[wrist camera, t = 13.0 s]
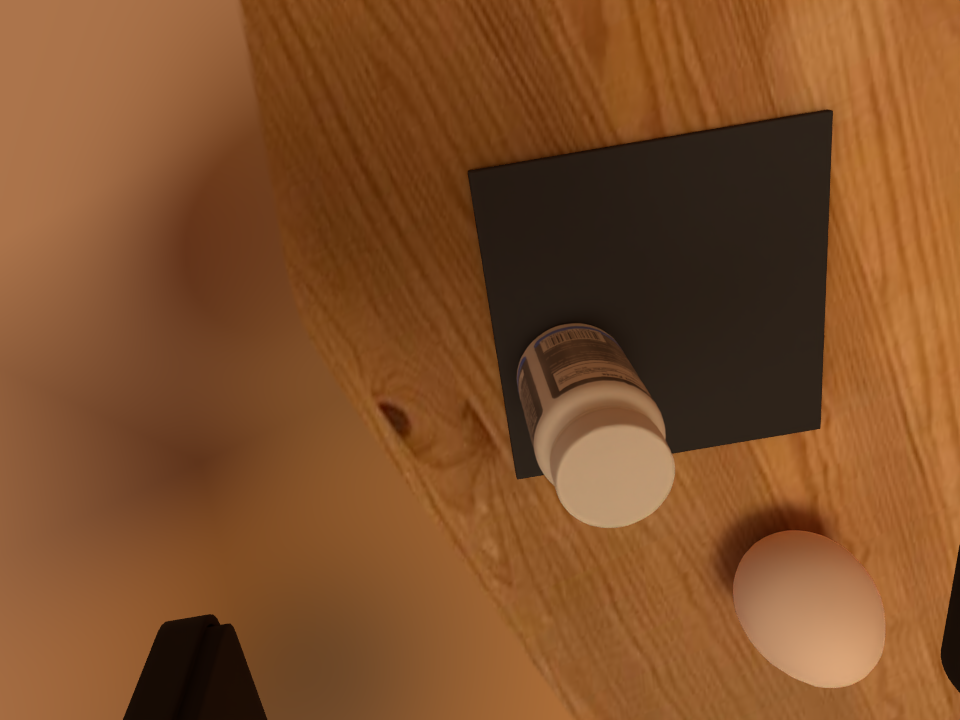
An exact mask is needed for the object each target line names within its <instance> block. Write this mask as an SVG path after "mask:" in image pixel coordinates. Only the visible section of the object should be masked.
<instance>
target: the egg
mask: <svg viewBox="0 0 960 720" xmlns="http://www.w3.org/2000/svg"><path fill="white" fill-rule="evenodd" d="M733 600H734V606H735V611H736V614H737V616H738V619H739V621H740V624H741V626H742V628H743V629H744V631H745V633H746V635H747V636H748V638H749V640H750V641H751V643H752V644H753V645H754V646H755V647H756V649H757V650H758V651H759V652H760V653H761V654H762V656H763V657H765V658H766V659H767V660H768V661H769V662H770V663H771V664H773V665H774V666H776V667H777V668H779V669H780V670H782V671H783V672H785V673H786V674H788V675H790V676H791V677H793V678H795V679H797V680H800V681H803V682H805V683H808V684H810V685H813V686H816V687H824V688H840V687H844V686H849V685H852V684H854V683H856V682H858V681H860V680H862V679H863V678H865V677H866V676H867V675H868V674H869V673H870V672H871V670H872V669H873V668H874V667H875V666H876V665H877V663H878V661H879V659H880V657H881V656H882V652H883V648H884V642H885V616H884V608H883V604H882V600H881V596H880V594H879V592H878V590H877V588H876V586H875V584H874V581H873V579H872V578H871V576H870V575H869V574H868V572H867V571H866V569H865V568H864V566H863V565H862V564H861V563H860V562H859V561H858V560H857V559H856V558H855V557H854V556H853V555H852V554H851V553H850V552H849V551H848V550H847V549H846V548H845V547H843V546H842V545H840V544H838V543H837V542H835V541H833V540H831V539H829V538H827V537H825V536H823V535H820V534H816V533H812V532H808V531H801V530H786V531H782V532H777V533H773V534H771V535H768V536H766V537H764V538H762V539H761V540H759V541H758V542H756V543H755V544H753V545H752V547H751V548H750V549H749V550H748V551H747V552H746V553H745V554H744V556H743V557H742V559H741V561H740V563H739V565H738V568H737V571H736V574H735V578H734V581H733Z"/></svg>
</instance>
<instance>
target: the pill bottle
mask: <svg viewBox="0 0 960 720" xmlns="http://www.w3.org/2000/svg"><path fill="white" fill-rule="evenodd" d="M517 386H518V392H519V396H520V400H521V403H522V407H523V411H524V415H525V419H526V423H527V427H528V430H529V434H530V438H531V442H532V445H533V449H534V453H535V456H536V459H537V462H538V465H539V467H540V469H541V470H542V472H543V474H544V475H545V476H546V478H547V479H548V480H549V481H550V482H551V483H552V484H553V485H554V486H555V489H556V492H557V495H558V497H559V499H560V501H561V503H562V504H563V506H564V507H565V509H566V510H567V511H568V512H569V513H570V514H571V515H572V516H574V517H575V518H577V519H578V520H580V521H582V522H584V523H586V524H589V525H592V526H596V527H602V528H617V527H623V526H627V525H630V524H633V523H636V522H638V521H640V520H642V519H644V518H645V517H647V516H649V515H650V514H652V513H653V512H654V511H655V510H656V509H657V508H659V507H660V505H661V504H662V503H663V502H664V500H665V499H666V498H667V496H668V494H669V492H670V490H671V488H672V485H673V481H674V476H675V464H674V459H673V456H672V453H671V450H670V448H669V447H668V445H667V443H666V441H665V438H666V434H665V425H664V421H663V418H662V415H661V412H660V410H659V408H658V406H657V404H656V403H655V401H654V400H653V399H652V397H651V395H650V394H649V392H648V391H647V389H646V387H645V386H644V384H643V383H642V381H641V380H640V378H639V377H638V375H637V373H636V371H635V369H634V368H633V366H632V365H631V363H630V362H629V360H628V359H627V357H626V355H625V354H624V352H623V350H622V349H621V347H620V346H619V344H618V343H617V342H616V341H615V340H614V338H612V337H611V336H610V335H609V334H607V333H606V332H605V331H603V330H601V329H599V328H597V327H594V326H591V325H587V324H582V323H572V324H564V325H560V326H556V327H553V328H551V329H549V330H547V331H546V332H544V333H542V334H541V335H540V336H538V337H537V338H536V339H535V340H534V341H533V342H532V343H531V344H530V345H529V346H528V347H527V349H526V350H525V352H524V354H523V355H522V357H521V359H520V362H519V365H518V370H517Z"/></svg>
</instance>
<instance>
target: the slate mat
mask: <svg viewBox="0 0 960 720" xmlns="http://www.w3.org/2000/svg"><path fill="white" fill-rule="evenodd" d="M832 120H833V111H831V110H823V111H817V112H811V113H805V114H799V115H793V116H787V117H782V118H776V119H770V120H764V121H758V122H752V123H746V124H740V125H734V126H729V127H723V128H717V129H711V130H705V131H699V132H693V133H687V134H681V135H676V136H670V137H664V138H658V139H652V140H646V141H640V142H634V143H628V144H623V145H617V146H611V147H605V148H599V149H593V150H587V151H581V152H575V153H569V154H564V155H558V156H552V157H546V158H540V159H534V160H528V161H522V162H516V163H511V164H505V165H499V166H493V167H487V168H481V169H475V170H469V171H468V177H469V183H470V189H471V196H472V202H473V208H474V214H475V221H476V227H477V233H478V239H479V246H480V252H481V258H482V264H483V271H484V277H485V283H486V289H487V296H488V302H489V308H490V314H491V321H492V327H493V333H494V339H495V346H496V352H497V358H498V364H499V371H500V377H501V383H502V389H503V396H504V402H505V408H506V414H507V421H508V427H509V433H510V439H511V446H512V452H513V458H514V464H515V471H516V477H517V479H523V478H529V477H535V476H541V475H544V474H543V472H542V470H541V469H540V467H539V465H538V462H537V459H536V456H535V453H534V449H533V445H532V442H531V438H530V434H529V430H528V427H527V423H526V419H525V415H524V411H523V407H522V403H521V400H520V396H519V392H518V386H517V370H518V365H519V362H520V359H521V357H522V355H523V354H524V352H525V350H526V349H527V347H528V346H529V345H530V344H531V343H532V342H533V341H534V340H535V339H536V338H537V337H538V336H540V335H541V334H542V333H544V332H546V331H547V330H549V329H551V328H553V327H556V326H560V325H564V324H572V323H582V324H587V325H591V326H594V327H597V328H599V329H601V330H603V331H605V332H606V333H607V334H609V335H610V336H611V337H612V338H614V340H615V341H616V342H617V343H618V344H619V346H620V347H621V349H622V350H623V352H624V354H625V355H626V357H627V359H628V360H629V362H630V363H631V365H632V366H633V368H634V369H635V371H636V373H637V375H638V377H639V378H640V380H641V381H642V383H643V384H644V386H645V387H646V389H647V391H648V392H649V394H650V395H651V397H652V399H653V400H654V401H655V403H656V404H657V406H658V408H659V410H660V412H661V415H662V418H663V421H664V425H665V434H666V438H665V441H666V443H667V445H668V447H669V448H670V450H671V453H678V452H684V451H690V450H696V449H702V448H708V447H714V446H720V445H726V444H732V443H738V442H744V441H750V440H756V439H762V438H768V437H774V436H780V435H786V434H791V433H797V432H803V431H809V430H815V429H820V424H821V399H822V373H823V348H824V323H825V297H826V272H827V247H828V221H829V196H830V171H831V145H832Z"/></svg>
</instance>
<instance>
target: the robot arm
mask: <svg viewBox="0 0 960 720" xmlns="http://www.w3.org/2000/svg"><path fill="white" fill-rule="evenodd" d="M941 660H942V664H943V667H944V670H945V672H946V674H947V676H948V678H949V680H950V681H951V682H952V684H953V685H954V686H955V688H956V689H957V690H958V691H959V692H960V546H959V552H958V557H957V563H956V568H955V574H954V580H953V585H952V591H951V597H950V602H949V608H948V614H947V619H946V625H945V630H944V636H943V642H942V647H941ZM123 720H267V717H266V715H265V712H264V709H263V706H262V703H261V701H260V698H259V695H258V693H257V690H256V687H255V684H254V681H253V679H252V676H251V673H250V670H249V668H248V665H247V662H246V659H245V657H244V654H243V651H242V648H241V645H240V643H239V640H238V637H237V635H236V632H235V629H234V627H233V626H232V625H231V624H224V625H220V623H219V622H218V619H217V618H216V617H215V616H214V615H211V614H209V615H203V616H197V617H191V618H185V619H179V620H173V621H168V622H165V623H164V624H163V625H162V626H161V627H160V629H159V631H158V633H157V635H156V638H155V640H154V643H153V646H152V648H151V651H150V653H149V656H148V658H147V661H146V663H145V666H144V668H143V671H142V673H141V676H140V678H139V681H138V683H137V686H136V688H135V691H134V693H133V696H132V698H131V701H130V703H129V706H128V708H127V711H126V713H125V716H124V718H123Z"/></svg>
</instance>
